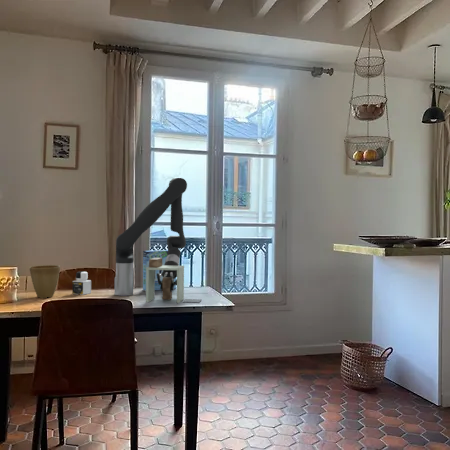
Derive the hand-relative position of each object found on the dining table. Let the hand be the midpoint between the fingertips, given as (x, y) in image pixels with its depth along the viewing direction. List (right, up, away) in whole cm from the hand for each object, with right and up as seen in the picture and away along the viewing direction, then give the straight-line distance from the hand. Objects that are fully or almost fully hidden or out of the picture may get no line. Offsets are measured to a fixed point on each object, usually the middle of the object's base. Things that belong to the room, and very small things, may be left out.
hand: (166, 290), depth 233 cm
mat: (+14, -5, -5) cm, 15 cm away
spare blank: (-5, +12, -2) cm, 14 cm away
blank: (0, -5, +2) cm, 5 cm away
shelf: (0, -5, -3) cm, 5 cm away
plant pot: (-64, -4, +5) cm, 64 cm away
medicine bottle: (-49, -4, +17) cm, 52 cm away
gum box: (-9, -5, +35) cm, 37 cm away
